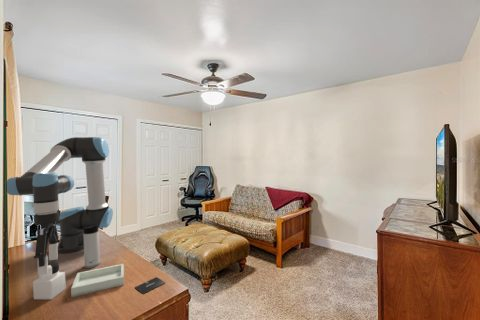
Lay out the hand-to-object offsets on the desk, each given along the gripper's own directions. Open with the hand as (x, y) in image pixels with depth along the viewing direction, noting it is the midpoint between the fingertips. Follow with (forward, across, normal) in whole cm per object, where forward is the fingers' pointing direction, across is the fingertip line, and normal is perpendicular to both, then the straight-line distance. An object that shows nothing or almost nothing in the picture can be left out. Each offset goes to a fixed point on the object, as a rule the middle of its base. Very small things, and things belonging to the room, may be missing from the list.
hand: (48, 266), depth 92 cm
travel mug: (+11, -20, +12) cm, 26 cm away
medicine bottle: (+11, 0, 0) cm, 11 cm away
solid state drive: (+12, +12, +36) cm, 40 cm away
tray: (+11, 0, +17) cm, 20 cm away
